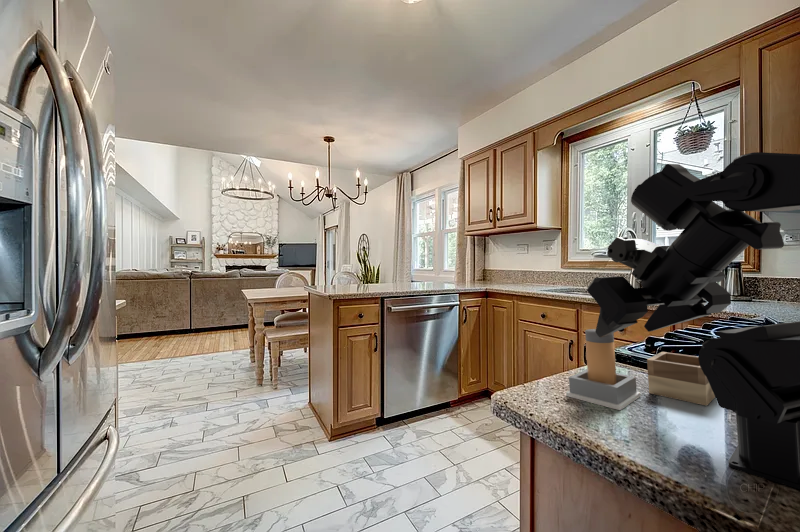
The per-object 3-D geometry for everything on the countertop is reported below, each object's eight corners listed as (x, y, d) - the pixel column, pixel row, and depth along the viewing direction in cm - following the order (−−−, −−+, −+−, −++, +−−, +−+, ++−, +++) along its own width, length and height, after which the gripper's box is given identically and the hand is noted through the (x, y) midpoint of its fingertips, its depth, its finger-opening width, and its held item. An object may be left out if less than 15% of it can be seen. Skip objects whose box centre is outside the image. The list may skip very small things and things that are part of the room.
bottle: (620, 397, 53) (616, 333, 53) (591, 395, 54) (587, 333, 55) (613, 389, 57) (610, 329, 57) (586, 387, 58) (583, 328, 58)
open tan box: (706, 405, 50) (704, 368, 50) (649, 393, 56) (647, 359, 56) (718, 393, 54) (716, 358, 54) (663, 382, 60) (662, 351, 60)
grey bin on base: (620, 410, 50) (618, 389, 50) (566, 395, 56) (565, 377, 56) (640, 396, 55) (639, 376, 55) (589, 384, 61) (588, 367, 61)
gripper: (700, 215, 49) (634, 289, 60) (593, 216, 44) (543, 296, 55) (776, 268, 41) (685, 342, 52) (657, 276, 37) (583, 356, 47)
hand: (623, 331), depth 52 cm, fingers open, 9 cm apart
